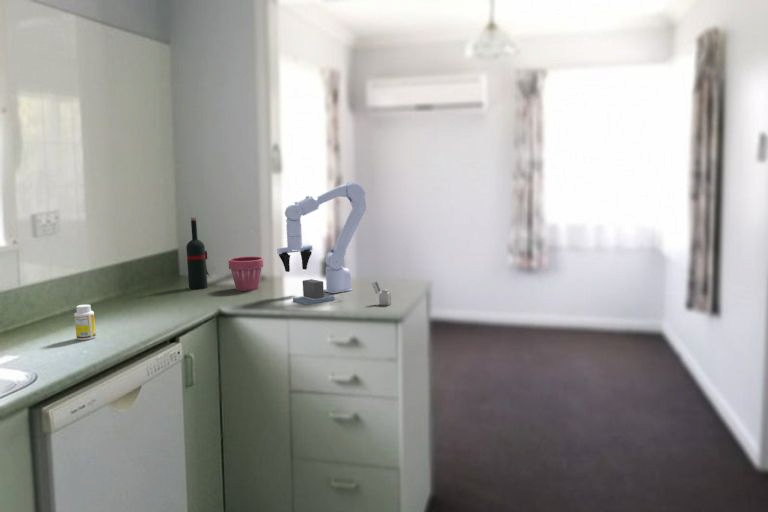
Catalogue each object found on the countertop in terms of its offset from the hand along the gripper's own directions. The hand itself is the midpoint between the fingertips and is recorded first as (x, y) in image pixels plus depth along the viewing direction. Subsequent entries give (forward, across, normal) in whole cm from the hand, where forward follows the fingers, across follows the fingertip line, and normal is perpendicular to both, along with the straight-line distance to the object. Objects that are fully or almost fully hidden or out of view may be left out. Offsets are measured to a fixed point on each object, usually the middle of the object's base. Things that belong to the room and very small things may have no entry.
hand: (296, 270), depth 277 cm
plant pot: (+10, +9, -26) cm, 29 cm away
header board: (+9, +2, +16) cm, 19 cm away
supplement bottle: (+10, +83, +17) cm, 85 cm away
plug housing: (+8, +2, +16) cm, 18 cm away
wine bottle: (+10, +22, -45) cm, 51 cm away
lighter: (+10, -12, +40) cm, 43 cm away
